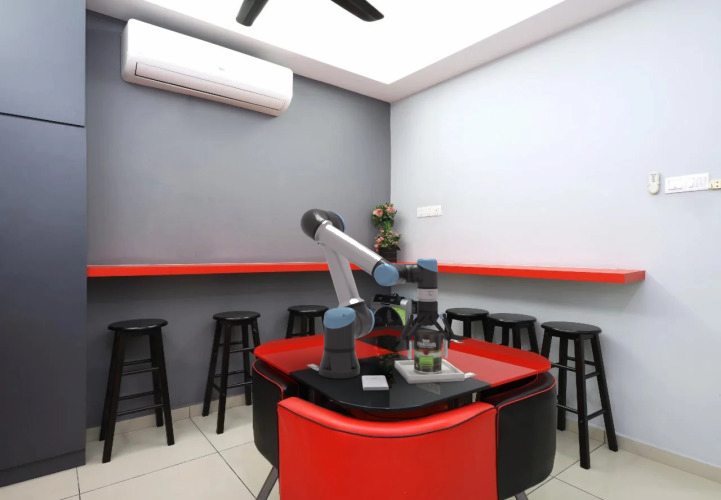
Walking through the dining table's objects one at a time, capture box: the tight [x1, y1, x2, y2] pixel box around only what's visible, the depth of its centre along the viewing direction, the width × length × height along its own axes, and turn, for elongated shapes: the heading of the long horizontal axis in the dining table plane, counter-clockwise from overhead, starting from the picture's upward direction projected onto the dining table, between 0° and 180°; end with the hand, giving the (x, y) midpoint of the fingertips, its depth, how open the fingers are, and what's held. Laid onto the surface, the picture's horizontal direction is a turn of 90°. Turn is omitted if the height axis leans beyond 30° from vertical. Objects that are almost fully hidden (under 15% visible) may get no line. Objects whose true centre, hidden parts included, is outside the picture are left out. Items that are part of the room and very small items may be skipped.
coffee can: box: [413, 329, 443, 374], centre depth 145 cm, size 10×10×14 cm
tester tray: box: [394, 358, 466, 384], centre depth 145 cm, size 20×20×2 cm
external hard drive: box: [361, 375, 390, 391], centre depth 133 cm, size 2×8×12 cm
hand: (427, 358), depth 145 cm, fingers open, 13 cm apart
